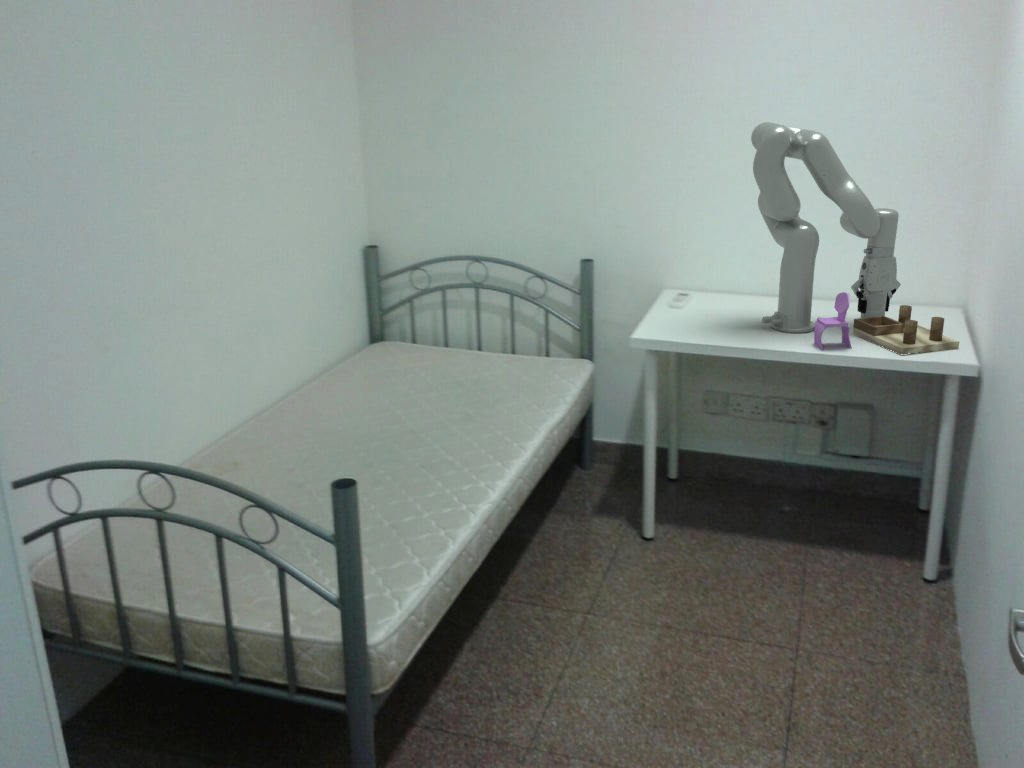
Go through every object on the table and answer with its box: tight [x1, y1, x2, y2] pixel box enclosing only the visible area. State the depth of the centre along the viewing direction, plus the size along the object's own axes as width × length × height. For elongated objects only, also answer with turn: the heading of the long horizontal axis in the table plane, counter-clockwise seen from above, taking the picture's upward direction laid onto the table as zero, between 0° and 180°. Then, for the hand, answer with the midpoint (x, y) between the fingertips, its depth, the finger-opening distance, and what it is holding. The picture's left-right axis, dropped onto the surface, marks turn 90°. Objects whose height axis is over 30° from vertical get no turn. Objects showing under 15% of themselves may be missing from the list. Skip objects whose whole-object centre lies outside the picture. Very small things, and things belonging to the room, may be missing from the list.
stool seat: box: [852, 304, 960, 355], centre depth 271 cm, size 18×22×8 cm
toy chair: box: [813, 291, 853, 351], centre depth 268 cm, size 8×9×15 cm
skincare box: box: [859, 284, 888, 318], centre depth 288 cm, size 6×4×12 cm
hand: (872, 310), depth 289 cm, fingers closed on skincare box, 7 cm apart
